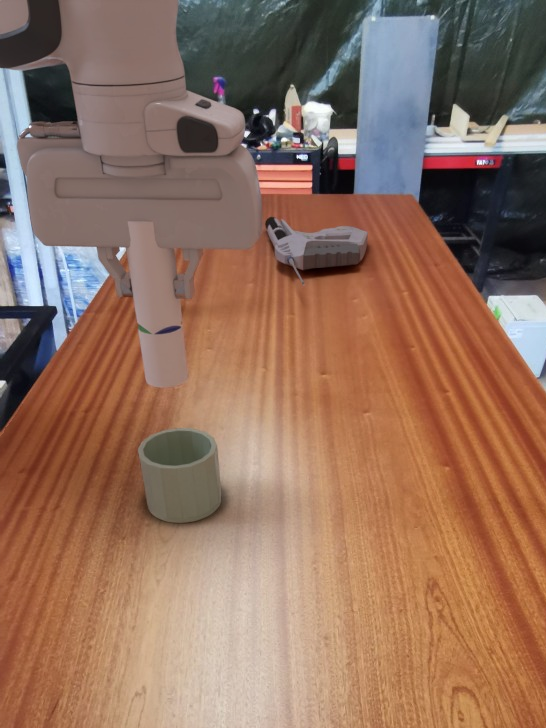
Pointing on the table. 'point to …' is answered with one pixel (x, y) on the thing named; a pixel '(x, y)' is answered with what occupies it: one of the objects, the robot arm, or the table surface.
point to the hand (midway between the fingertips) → (156, 296)
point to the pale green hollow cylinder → (180, 474)
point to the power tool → (316, 246)
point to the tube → (156, 307)
